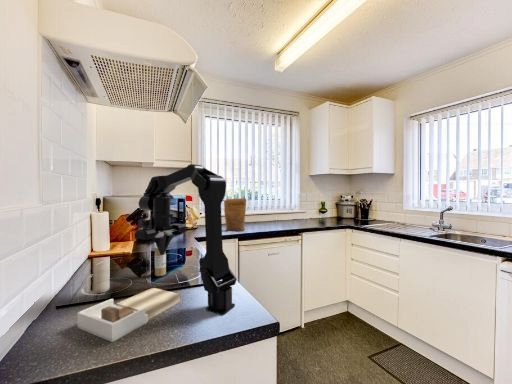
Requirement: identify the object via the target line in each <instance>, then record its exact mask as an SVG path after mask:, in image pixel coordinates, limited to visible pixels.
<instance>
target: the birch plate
mask: <svg viewBox="0 0 512 384" xmlns="http://www.w3.org/2000/svg"><path fill="white" fill-rule="evenodd" d="M180 302H181V294H180V293H178V292H172V291H168V290H164V289H160V288H156V287H152V288H149V289H147V290H144V291H142V292H140V293H137V294H135V295H133V296H131V297H128V298H126V299H123V300H121V301H118V302H117V303H116V305H118V306H121V307H125V308H128V309H131V310H134V311H138V310H140V309H142V308H145V314H147V315H148V321H149V320H150V319H152V318H154V317H156V316H157V315H159V314H161V313H163V312H164V311H166V310H168V309H170V308H172V307H174V306H176V305H177V304H179V303H180Z"/></svg>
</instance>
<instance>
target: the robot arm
mask: <svg viewBox="0 0 512 384" xmlns="http://www.w3.org/2000/svg"><path fill="white" fill-rule="evenodd" d="M190 181H191V184H193V185H194V186H195V187H196V188H197V191H198V196H199V198H200V200H201V202H202V203H203V205H204V223H205V224H204V227H205V229H204V230H205V254H204V256H203V257H200V258H199V261H198V263H199V271H198V272H199V273H200V277H201V281H202V285H203V289H204V291H205V292H207V307H205V311H208V312H212V313H214V314H215V313H216V314H218V315H221V316H222V315H225V314H227V313H228V312H229V311H230V310H232V309H233V308H234V307H235V305H236V304H235V303H233V288H232V287H233V286H235V285H236V282H237V279H238V278H237V277H236V275H235V274H234V272H233V271H232V270H231V268H230V265H229V259H228V257H227V256H226V254H225V252H224V249H223V246H224V244H223V228H222V227H223V224H222V202H224V198H225V197H226V189H227V181H226V179H225V178H224V177H223V176H222V175H218V174H217V173H215V172H213V171H211V170H209V169H207V168H206V167H204V166H203V165H201V164H193V163H192V164H191V163H190V164H188V165H187V166H186V167H183V168H181V169H179V170H177V171H174V172H172V173H170V174H166V175H156V176H153V177H151V178H150V180H149V182H148V185H147V187H146V189H145V191H144V192H143V196H141V197H140V198H139V201H138V207H139V208H140V209H141V210H142V211H148V212H149V211H150V212H152V213H153V214H150V216H149V219H146V218H140V219H139V218H138V220H137V227H138V229H136V231H135V232H134V239H135V240H145V241H146V240H153V241H154V243H156V245H157V247H158V250H159V252H160V255H164V254H165V252H166V251H167V249H168V247H169V245H170V243H171V241H172V240H173V238H174V237H175V236H176V235H175V234H173V232H176V231H177V232H178V233H184V232H186V225H185V224H184V223H172V224H171V218H173V217H174V216H173V213H171V200H174V196H173V195H172V194H171V192H173V191H174V190H175V189H176V187H177V186H179V185H182V184H185V183H188V182H190Z"/></svg>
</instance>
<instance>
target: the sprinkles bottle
mask: <svg viewBox="0 0 512 384" xmlns="http://www.w3.org/2000/svg"><path fill="white" fill-rule="evenodd" d="M153 244H154V245H153V249H154V276H156V277H162V276H165V275H167V267H166V266H167V254H166V252H165V254H164V255H160V252H159V250H158V247H157V245H156V243H155V242H154V243H153Z"/></svg>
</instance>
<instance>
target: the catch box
mask: <svg viewBox="0 0 512 384" xmlns="http://www.w3.org/2000/svg"><path fill="white" fill-rule="evenodd" d="M108 306H110V307H114V308H117V309H121V308H123V307H121V306H118V305H117V304H115V303H114V298H110V299H107V300H105V301H102V302H100V303H97V304H95V305H92V306H90V307H88V308H84V309H83V310H80V311H78V312H77V314H76V316H77V317H76V318H77V329H79V330H81V331H83V332H86V333H89V334H92V335H94V336H95V337H98V338H100V339H103V340H106V341H107V342H111V343H113V342H116V341H117V340H119V339H121V338H122V337H124V336H126V335H127V334H130V333H131V332H133V331H135V330H137V329H138V328H141V327H142V326H143V325H146V324H147V323H148V322H149V320H148V315H147V314H145V308H142V309H140V310H138V311H134V310H133V313H132V314H130V315H128V316H126V317H124V318H122V319H120V320H118V321H116V322H114V323H112V322H109V321H107V320H104V319H101V309H103V308H106V307H108Z"/></svg>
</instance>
